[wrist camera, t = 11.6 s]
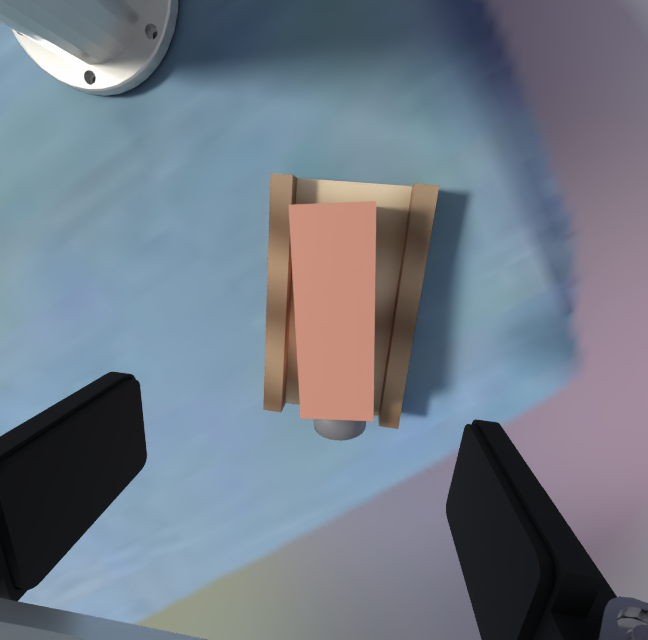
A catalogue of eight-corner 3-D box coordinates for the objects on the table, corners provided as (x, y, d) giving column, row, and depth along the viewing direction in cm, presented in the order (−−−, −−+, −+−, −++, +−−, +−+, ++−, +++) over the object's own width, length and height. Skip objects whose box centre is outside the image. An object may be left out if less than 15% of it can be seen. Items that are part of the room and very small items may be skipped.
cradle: (280, 178, 24) (270, 173, 22) (431, 189, 23) (439, 185, 21) (271, 394, 29) (263, 409, 27) (395, 411, 28) (398, 428, 26)
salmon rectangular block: (304, 209, 23) (288, 204, 19) (374, 206, 23) (376, 201, 18) (312, 405, 28) (301, 442, 23) (371, 408, 27) (373, 446, 22)
